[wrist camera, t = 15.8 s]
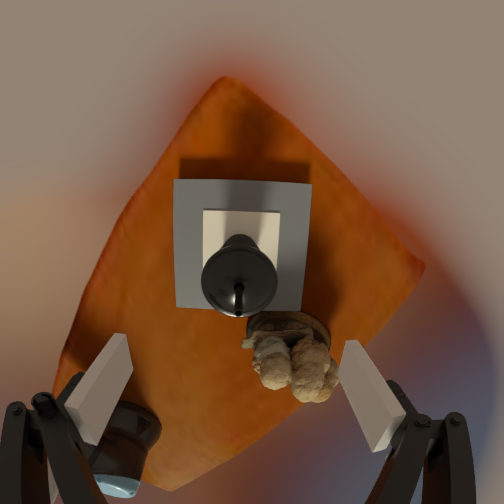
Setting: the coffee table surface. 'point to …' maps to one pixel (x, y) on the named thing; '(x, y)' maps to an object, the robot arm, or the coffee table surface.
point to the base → (240, 232)
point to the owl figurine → (292, 353)
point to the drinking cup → (239, 278)
